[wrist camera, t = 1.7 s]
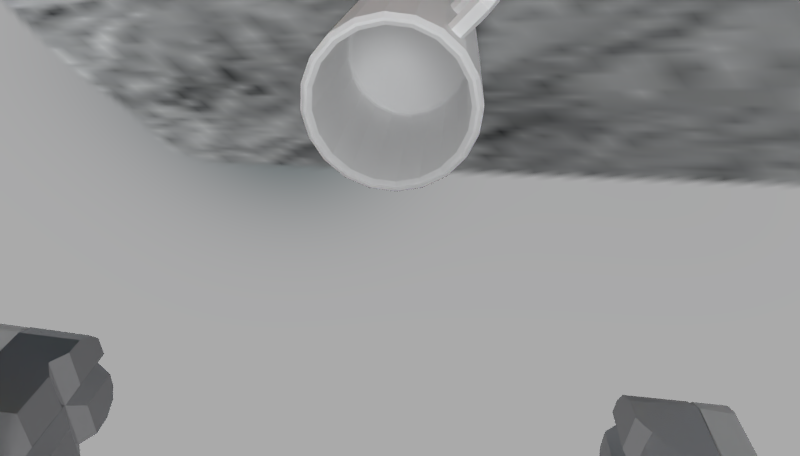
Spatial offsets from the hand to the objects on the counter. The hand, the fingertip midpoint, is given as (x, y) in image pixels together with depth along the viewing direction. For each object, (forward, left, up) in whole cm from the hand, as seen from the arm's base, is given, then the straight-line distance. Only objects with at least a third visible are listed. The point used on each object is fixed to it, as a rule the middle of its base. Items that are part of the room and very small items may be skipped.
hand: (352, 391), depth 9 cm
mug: (0, 0, -27) cm, 27 cm away
